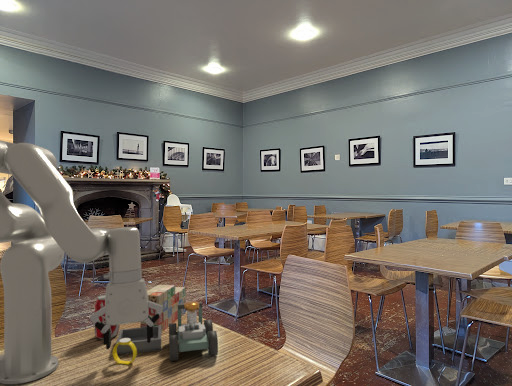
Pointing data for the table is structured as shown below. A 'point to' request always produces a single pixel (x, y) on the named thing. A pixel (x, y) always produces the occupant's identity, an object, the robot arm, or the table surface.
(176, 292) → the stack of blocks
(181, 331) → the grey-green toy cart
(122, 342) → the watch
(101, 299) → the soda can
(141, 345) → the tray
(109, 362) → the table surface
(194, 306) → the pin
